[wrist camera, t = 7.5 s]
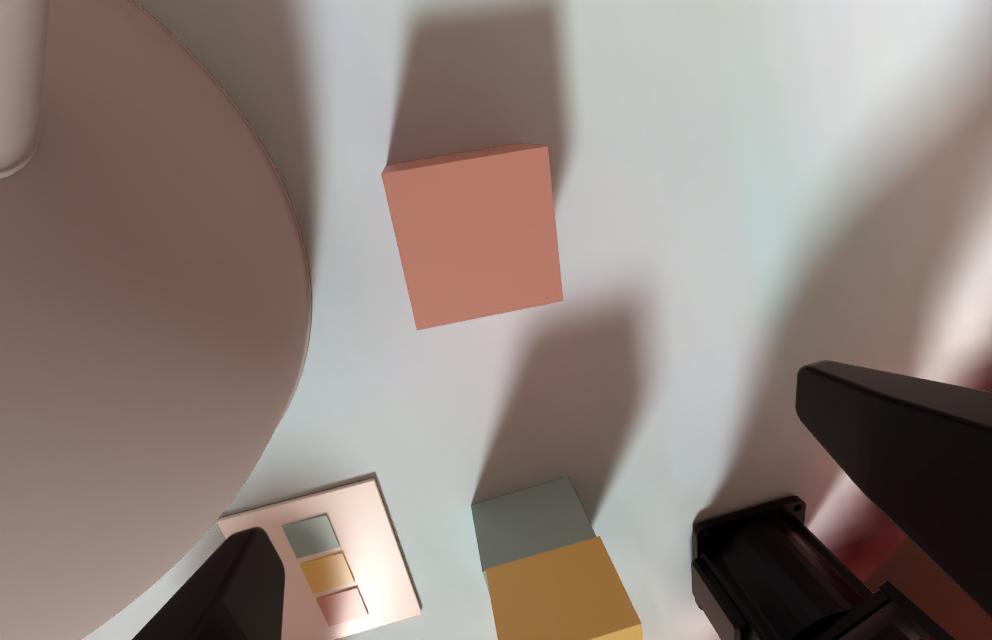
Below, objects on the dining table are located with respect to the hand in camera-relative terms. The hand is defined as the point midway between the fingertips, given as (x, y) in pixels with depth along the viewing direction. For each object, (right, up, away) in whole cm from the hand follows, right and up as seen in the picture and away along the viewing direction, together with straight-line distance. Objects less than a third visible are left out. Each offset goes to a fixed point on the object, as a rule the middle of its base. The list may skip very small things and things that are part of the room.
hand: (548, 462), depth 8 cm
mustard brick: (+2, -10, +14) cm, 17 cm away
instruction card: (-9, -10, +16) cm, 21 cm away
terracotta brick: (-2, +6, +11) cm, 13 cm away
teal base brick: (+1, -8, +17) cm, 19 cm away
